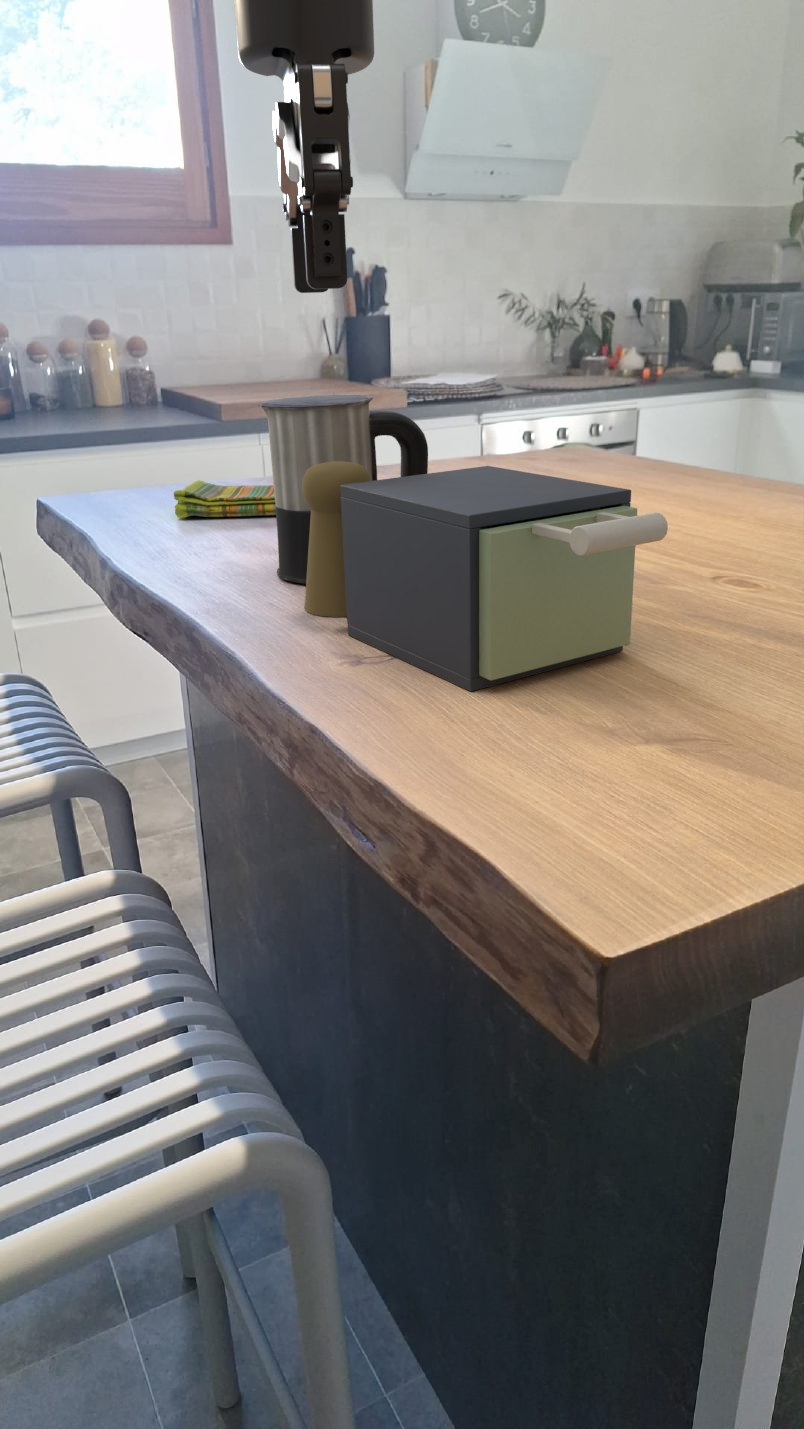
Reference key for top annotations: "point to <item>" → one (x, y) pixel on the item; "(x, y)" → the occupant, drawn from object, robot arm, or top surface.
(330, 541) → the olive pawn
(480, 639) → the drawer
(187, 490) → the dish towel
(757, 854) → the top surface
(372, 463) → the milk frother
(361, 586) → the cabinet
